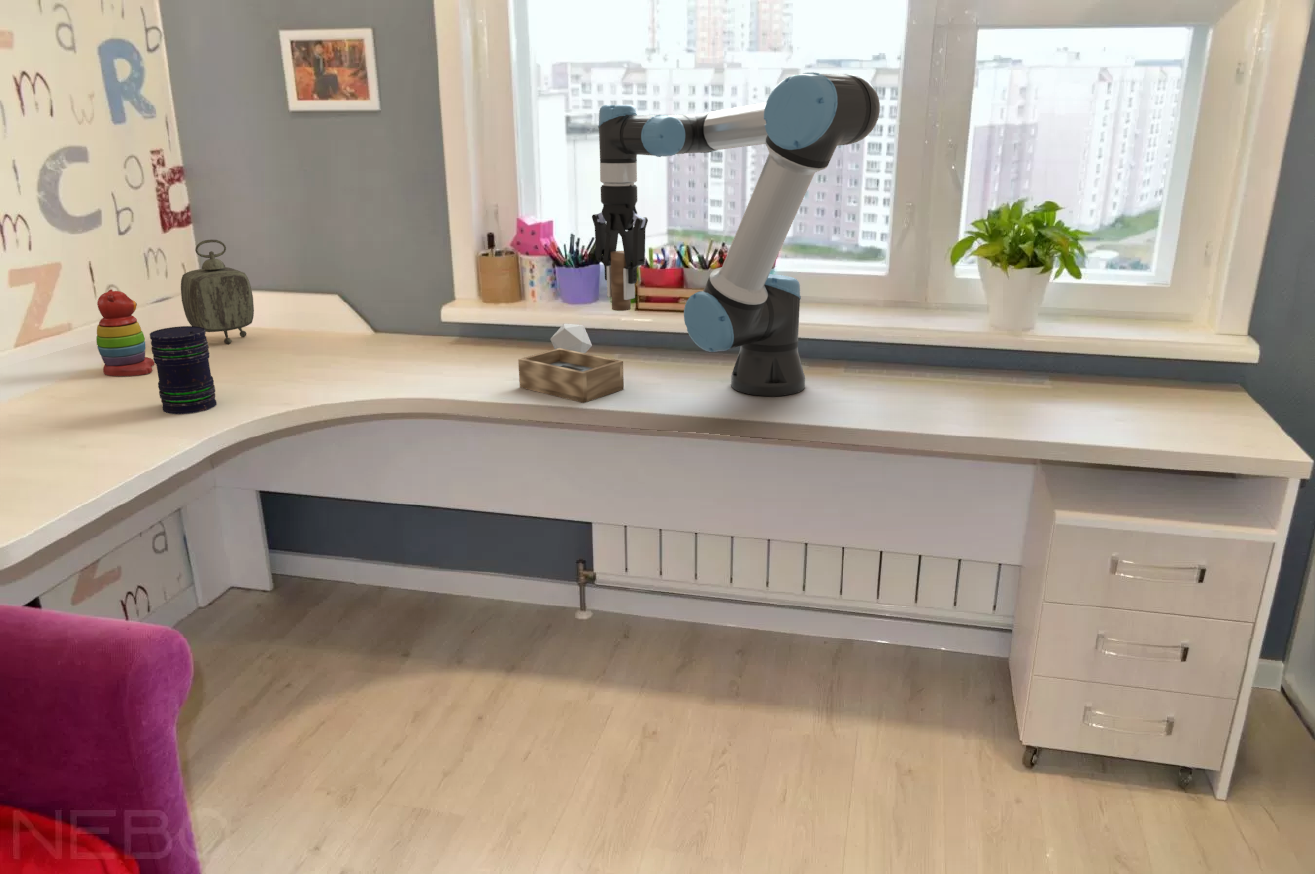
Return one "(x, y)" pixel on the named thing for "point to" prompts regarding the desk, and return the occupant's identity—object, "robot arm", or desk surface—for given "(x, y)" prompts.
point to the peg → (618, 282)
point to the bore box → (571, 374)
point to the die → (571, 338)
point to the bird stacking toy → (121, 337)
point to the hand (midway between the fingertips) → (621, 297)
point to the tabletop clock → (217, 296)
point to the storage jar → (183, 369)
